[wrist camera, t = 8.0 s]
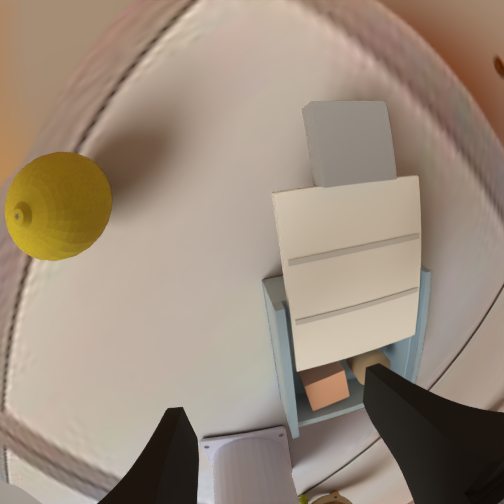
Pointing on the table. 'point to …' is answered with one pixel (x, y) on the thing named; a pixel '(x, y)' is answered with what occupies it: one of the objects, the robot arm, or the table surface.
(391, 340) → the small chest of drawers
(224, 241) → the table surface
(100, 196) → the lemon
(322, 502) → the bird rattle
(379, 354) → the tan rounded piece
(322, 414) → the tub
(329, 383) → the block
